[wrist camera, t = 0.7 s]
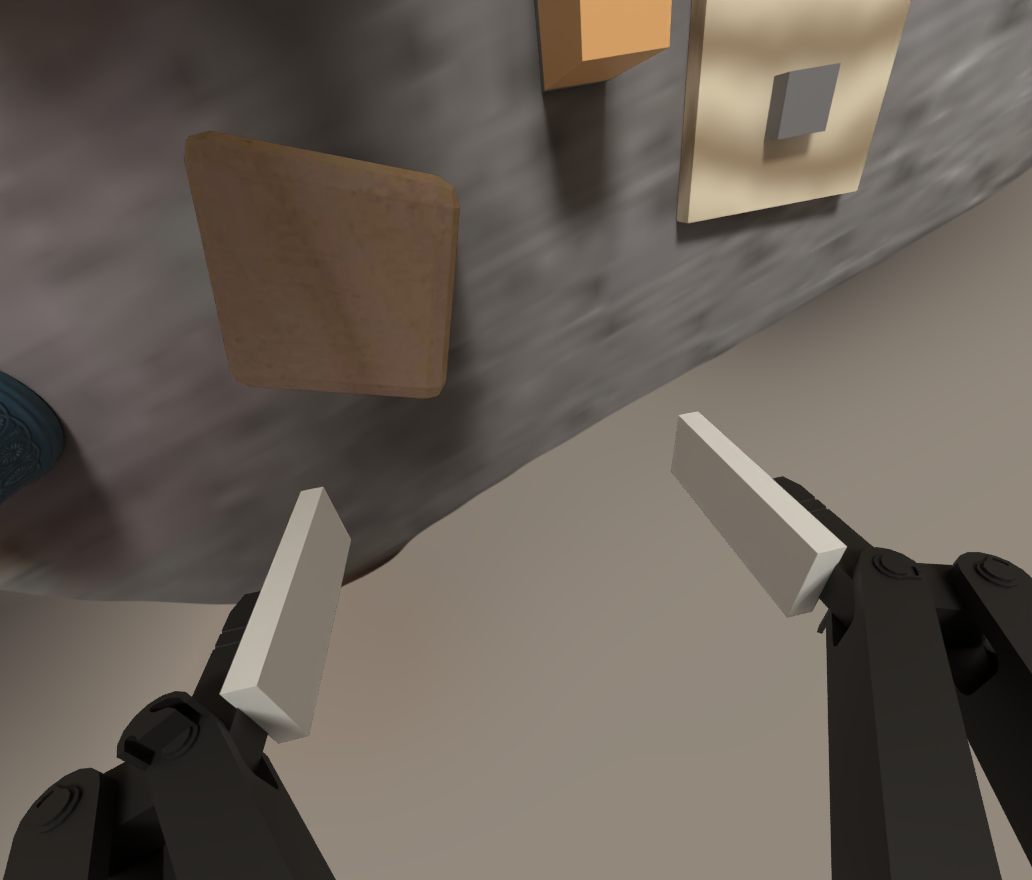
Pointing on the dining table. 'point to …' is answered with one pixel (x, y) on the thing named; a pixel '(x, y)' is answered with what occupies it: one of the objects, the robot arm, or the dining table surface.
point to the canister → (25, 437)
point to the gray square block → (801, 102)
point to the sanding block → (597, 38)
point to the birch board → (747, 93)
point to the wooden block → (326, 266)
